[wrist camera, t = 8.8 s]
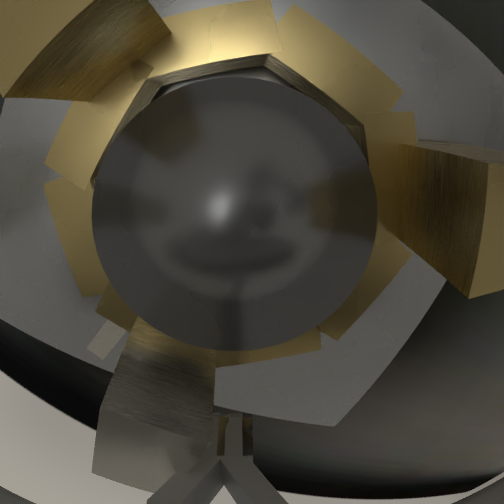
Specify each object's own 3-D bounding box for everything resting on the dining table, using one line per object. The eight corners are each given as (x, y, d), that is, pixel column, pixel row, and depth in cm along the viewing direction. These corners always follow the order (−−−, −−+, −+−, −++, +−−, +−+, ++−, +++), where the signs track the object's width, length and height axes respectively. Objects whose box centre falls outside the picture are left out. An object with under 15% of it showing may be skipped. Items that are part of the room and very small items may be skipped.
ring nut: (433, -46, 5) (511, -89, 1) (457, 334, 11) (513, 404, 7) (22, 12, 5) (-70, -16, 1) (136, 398, 11) (113, 491, 7)
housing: (120, -75, 5) (72, -144, 1) (497, 95, 9) (591, 105, 4) (5, 294, 11) (-57, 360, 6) (327, 403, 15) (352, 488, 10)
